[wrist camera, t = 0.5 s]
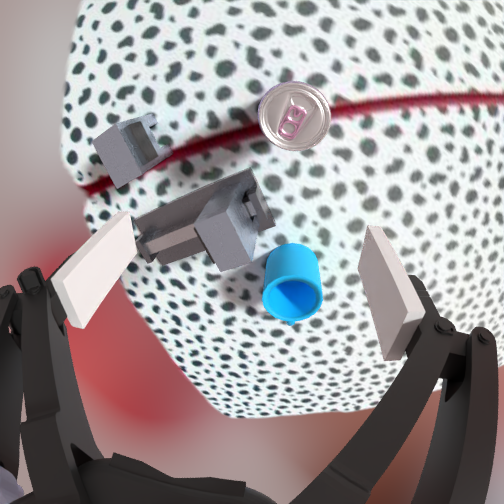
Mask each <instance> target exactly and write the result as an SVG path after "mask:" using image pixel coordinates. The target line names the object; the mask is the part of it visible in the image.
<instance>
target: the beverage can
mask: <svg viewBox="0 0 504 504" xmlns="http://www.w3.org/2000/svg"><path fill="white" fill-rule="evenodd" d="M258 122H259V126H260V128H261V130H262V132H263V134H264V135H265V137H266V138H267V139H268V140H269V141H270V142H271V143H273V144H274V145H276V146H278V147H280V148H282V149H285V150H289V151H303V150H307V149H310V148H312V147H314V146H315V145H317V144H318V143H319V142H321V141H322V140H323V138H324V137H325V136H326V134H327V132H328V130H329V127H330V123H331V111H330V107H329V104H328V102H327V100H326V99H325V97H324V96H323V94H322V93H321V92H320V91H318V90H317V89H316V88H314V87H313V86H311V85H309V84H306V83H303V82H298V81H288V82H283V83H280V84H278V85H276V86H274V87H272V88H271V89H270V90H269V91H268V92H267V93H266V94H265V95H264V96H263V98H262V100H261V102H260V104H259V108H258Z"/></svg>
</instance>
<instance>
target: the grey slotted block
mask: <svg viewBox="0 0 504 504" xmlns="http://www.w3.org/2000/svg"><path fill="white" fill-rule="evenodd" d="M134 221H135V222H136V224H137V226H138V227H139V229H140V231H141V232H142V234H141V235H140V236H139V238H138V239H137V240H136V241H135V244H136V246H137V248H138V249H139V251H140V252H141V254H142V256H143V257H144V259H145V260H146V262H147V263H151V262H153V260H154V259H155V257H156V256H157V258H158V259H159V261H160V262H161V264H162V266H163V265H166V264H168V263H171V262H174V261H177V260H180V259H182V258H185V257H188V256H191V255H194V254H196V253H199V252H202V251H205V250H206V252H207V254H208V255H209V257H210V259H211V261H212V262H213V264H214V263H216V265H217V267H218V268H219V270H220V272H222V271H226V270H229V269H232V268H235V267H238V266H242V265H245V264H248V263H251V262H252V260H253V254H254V249H255V244H256V239H257V233H258V232H260V231H263V230H266V229H268V228H271V227H274V226H276V223H275V220H274V218H273V216H272V214H271V211H270V209H269V207H268V205H267V202H266V200H265V198H264V196H263V194H262V191H261V189H260V187H259V185H258V182H257V180H256V178H255V176H254V174H253V172H252V169H251V167H250V168H247V169H245V170H242V171H240V172H237V173H235V174H233V175H230V176H228V177H225V178H223V179H221V180H218V181H216V182H213V183H211V184H209V185H207V186H204V187H202V188H200V189H197V190H195V191H193V192H191V193H188V194H186V195H184V196H182V197H180V198H177V199H175V200H173V201H171V202H169V203H167V204H165V205H162V206H160V207H158V208H156V209H154V210H152V211H150V212H148V213H146V214H144V215H142V216H140V217H138V218H136V219H135V220H134Z"/></svg>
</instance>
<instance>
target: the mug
mask: <svg viewBox="0 0 504 504" xmlns="http://www.w3.org/2000/svg"><path fill="white" fill-rule="evenodd" d="M262 301H263V305H264V307H265V309H266V310H267V312H268V313H270V314H271V315H272V316H274V317H275V318H278V319H280V320H284V321H287V325H289V326H292V325H294V324H295V321H301V320H304V319H306V318H309V317H310V316H312V315H313V314H315V313H316V312H317V311H318V309H319V308H320V307H321V304H322V301H323V297H322V287H321V280H320V273H319V266H318V260H317V258H316V256H315V254H314V253H313V252H312V251H311V250H310V249H309V248H308V247H306V246H303V245H301V244H295V243H290V244H284V245H281V246H279V247H277V248H276V249H274V250H273V251H272V252H271V253H270V255H269V257H268V258H267V263H266V271H265V279H264V288H263V296H262Z"/></svg>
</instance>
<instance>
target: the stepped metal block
mask: <svg viewBox="0 0 504 504" xmlns="http://www.w3.org/2000/svg"><path fill="white" fill-rule="evenodd" d="M157 123H158V122H157V121H156V119H155V117H154V115H153V114H149V115H145V116H141V117H138V118H134V119H130V120H127V121H123V122H120V123H116V124H115V125H113V126H112V127H110V128H109V129H108V130H106V131H105V132H104V133H102V134H101V135H100V136H98V137H97V138H96V139H94V140H93V141H92V143H93V145H94V147H95V149H96V151H97V153H98V155H99V157H100V159H101V160H102V162H103V164H104V166H105V168H106V170H107V172H108V173H109V175H110V177H111V179H112V181H113V183H114V184H115V186H116V188H117V189H118V188H120V187H121V186H123V185H125V184H126V183H128V182H130V181H131V180H133V179H135V178H137V177H138V176H140V175H142V174H143V173H145V172H146V171H148V170H149V169H151V168H152V167H154V166H155V165H157V164H158V163H160V162H161V161H163V160H164V159H166V158H167V157H169V156H171V155H172V154H173V152H172V150H171V148H170V146H169V144H167V145H165V146H163V147H162V148H160V147H159V145H158V143H157V141H156V139H155V137H154V136H153V134H152V132H151V130H150V128H151V127H152V126H154V125H156V124H157Z"/></svg>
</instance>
